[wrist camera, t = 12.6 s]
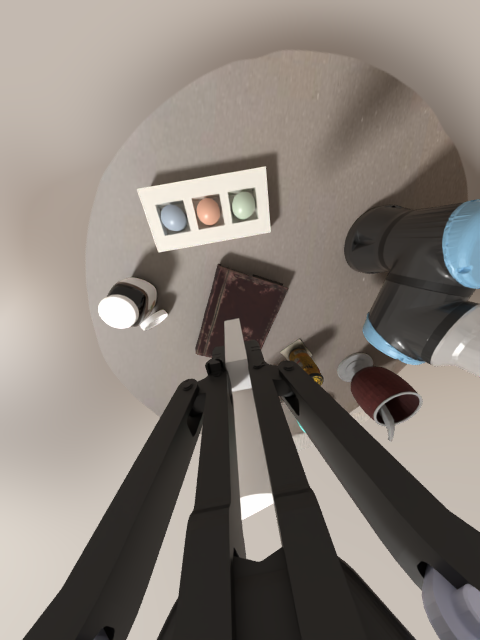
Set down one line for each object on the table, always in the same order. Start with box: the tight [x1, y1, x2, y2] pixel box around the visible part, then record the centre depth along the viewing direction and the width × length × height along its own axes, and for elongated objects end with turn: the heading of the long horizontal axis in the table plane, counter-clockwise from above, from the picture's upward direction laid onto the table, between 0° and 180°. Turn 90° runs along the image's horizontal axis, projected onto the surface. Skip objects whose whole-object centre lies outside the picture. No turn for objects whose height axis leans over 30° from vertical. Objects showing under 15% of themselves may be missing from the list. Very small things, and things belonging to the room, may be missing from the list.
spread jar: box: [98, 277, 168, 331], centre depth 41 cm, size 12×11×12 cm
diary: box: [195, 264, 288, 358], centre depth 48 cm, size 19×25×5 cm
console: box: [137, 166, 271, 252], centre depth 37 cm, size 24×11×4 cm, turn 99°
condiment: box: [281, 339, 323, 386], centre depth 52 cm, size 7×8×12 cm
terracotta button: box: [197, 198, 220, 226], centre depth 36 cm, size 4×4×3 cm
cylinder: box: [232, 389, 274, 520], centre depth 53 cm, size 17×17×28 cm
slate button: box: [161, 205, 188, 231], centre depth 36 cm, size 4×4×3 cm
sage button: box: [232, 192, 255, 220], centre depth 36 cm, size 4×4×3 cm
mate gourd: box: [337, 353, 423, 441], centre depth 53 cm, size 16×14×20 cm
